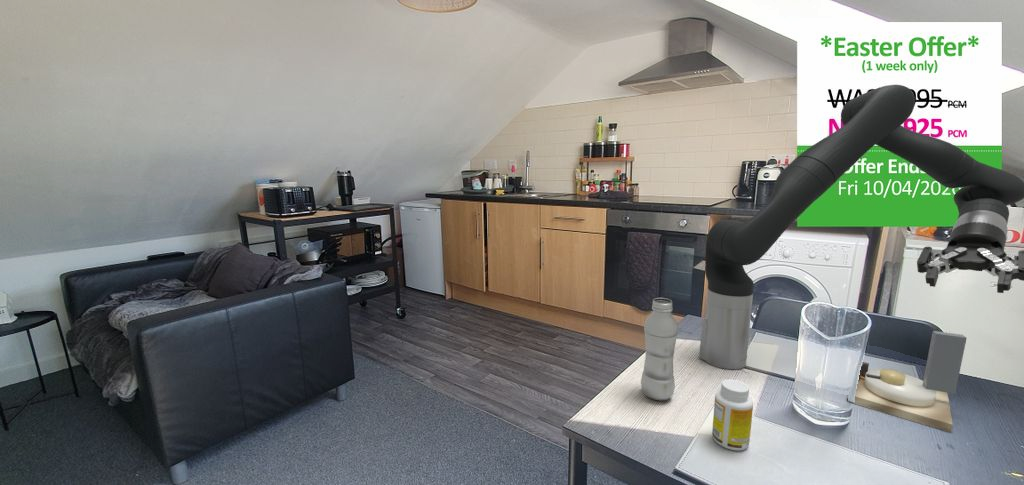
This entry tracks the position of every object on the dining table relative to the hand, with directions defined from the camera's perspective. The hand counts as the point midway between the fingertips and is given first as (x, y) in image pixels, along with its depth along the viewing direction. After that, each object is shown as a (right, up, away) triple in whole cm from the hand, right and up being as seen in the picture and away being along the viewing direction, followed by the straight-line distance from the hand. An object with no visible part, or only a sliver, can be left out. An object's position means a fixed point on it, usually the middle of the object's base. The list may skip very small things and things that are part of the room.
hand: (964, 286), depth 76 cm
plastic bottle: (-55, -23, +7) cm, 60 cm away
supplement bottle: (-47, -26, -7) cm, 54 cm away
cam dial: (-8, -21, +3) cm, 23 cm away
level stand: (-9, -23, +4) cm, 25 cm away
